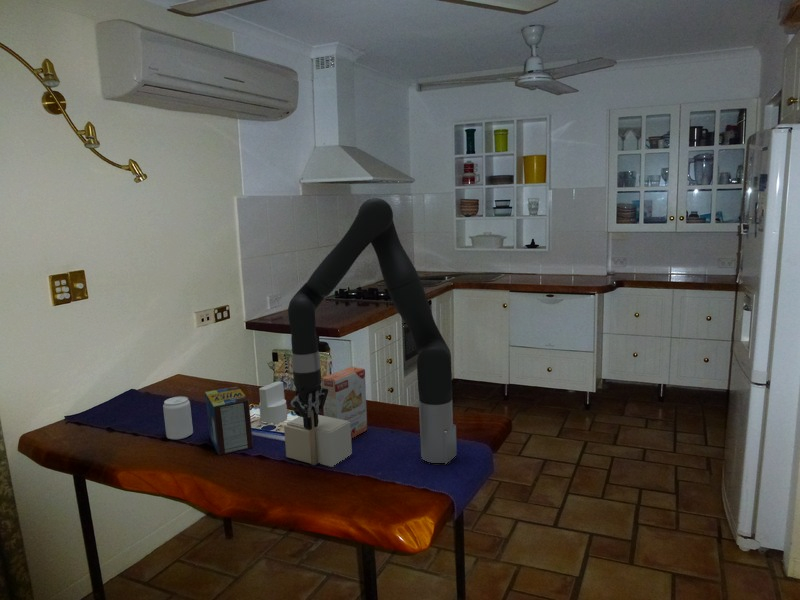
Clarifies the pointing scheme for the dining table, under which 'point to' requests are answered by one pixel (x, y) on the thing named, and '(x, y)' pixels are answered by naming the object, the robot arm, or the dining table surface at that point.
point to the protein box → (229, 420)
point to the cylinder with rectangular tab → (273, 403)
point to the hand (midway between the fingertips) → (311, 427)
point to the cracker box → (347, 398)
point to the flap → (301, 443)
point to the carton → (329, 439)
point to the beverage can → (177, 418)
